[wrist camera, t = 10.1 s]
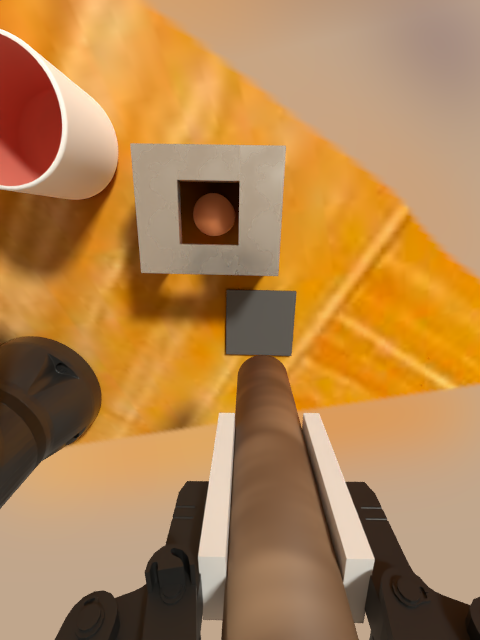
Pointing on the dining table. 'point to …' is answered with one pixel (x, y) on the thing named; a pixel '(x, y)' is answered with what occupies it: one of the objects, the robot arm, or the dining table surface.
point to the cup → (50, 129)
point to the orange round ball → (214, 214)
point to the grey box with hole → (208, 166)
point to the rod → (278, 523)
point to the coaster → (260, 322)
